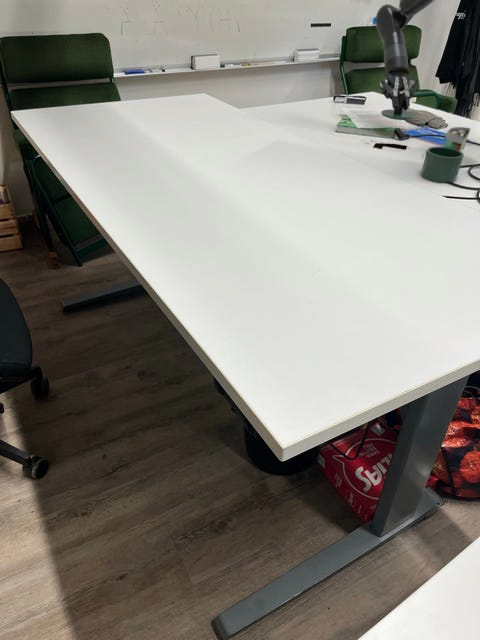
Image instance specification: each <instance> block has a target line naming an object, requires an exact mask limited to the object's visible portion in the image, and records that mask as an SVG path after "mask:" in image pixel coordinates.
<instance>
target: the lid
mask: <svg viewBox="0 0 480 640" xmlns="http://www.w3.org/2000/svg"><path fill="white" fill-rule="evenodd" d="M397 97H398V102H399V108H398V109H397V110H394V109H383V110H382V111H381V112H380V114H381V115H382V116H383V117H385V118H388V119H391V120H397V121H406V120H411V119H414V118H415V114H414V113H412V112H410V111H408V110H404V108H403V107H404V103H405V98H406V94H400V93H397Z"/></svg>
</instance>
